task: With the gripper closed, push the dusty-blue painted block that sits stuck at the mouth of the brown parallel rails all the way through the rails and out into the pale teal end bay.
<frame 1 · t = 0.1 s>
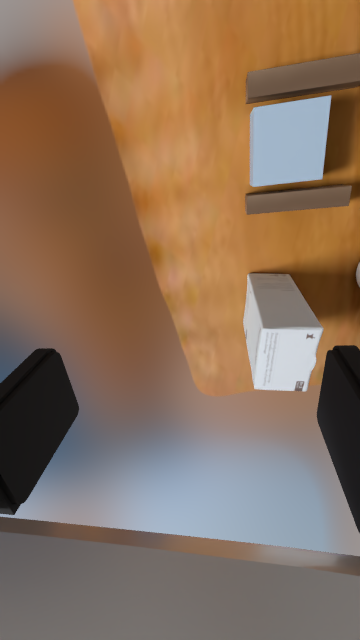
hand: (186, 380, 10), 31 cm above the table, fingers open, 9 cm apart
brown parallel rails: (295, 145, 32), on the table
block: (281, 147, 32), on the table
skincare box: (265, 299, 41), on the table
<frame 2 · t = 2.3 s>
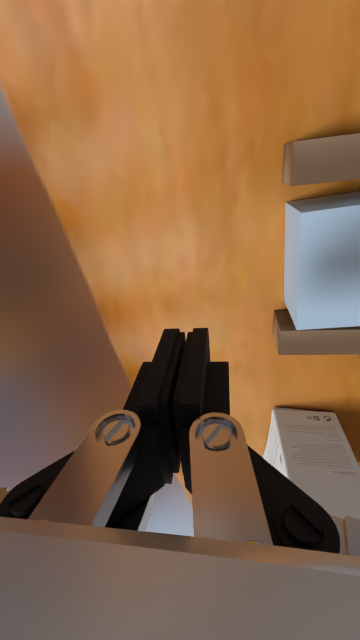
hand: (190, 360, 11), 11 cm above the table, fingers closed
block: (338, 248, 19), on the table
skincare box: (296, 435, 28), on the table
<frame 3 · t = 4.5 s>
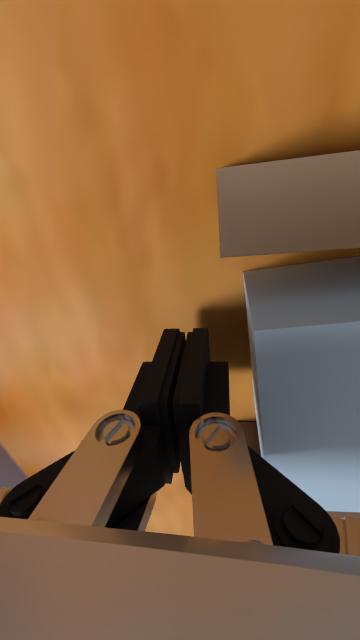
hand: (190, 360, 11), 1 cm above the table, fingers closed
block: (339, 342, 11), on the table, touching gripper
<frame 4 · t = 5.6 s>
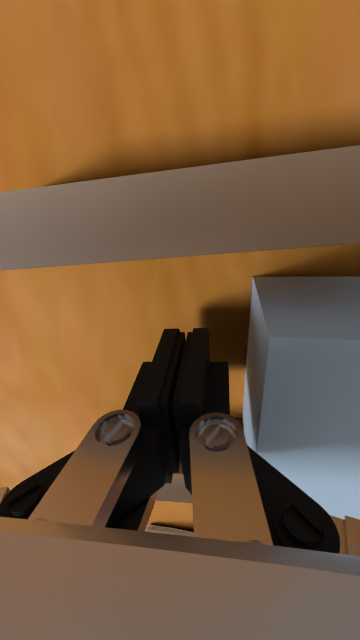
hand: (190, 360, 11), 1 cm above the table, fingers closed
brown parallel rails: (206, 341, 12), on the table
block: (333, 356, 12), on the table, touching gripper
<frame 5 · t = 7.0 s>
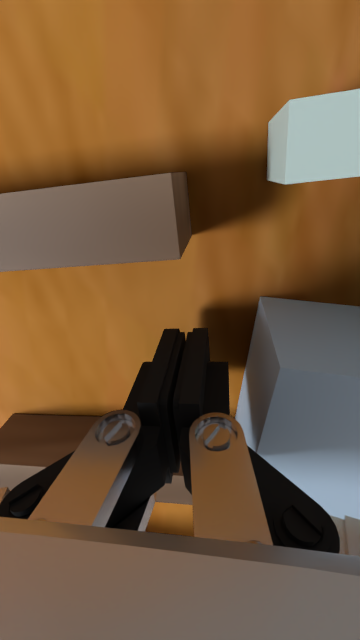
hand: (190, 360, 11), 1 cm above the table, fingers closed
brown parallel rails: (81, 345, 13), on the table
block: (327, 378, 12), on the table, touching end bay, gripper
end bay: (341, 341, 11), on the table
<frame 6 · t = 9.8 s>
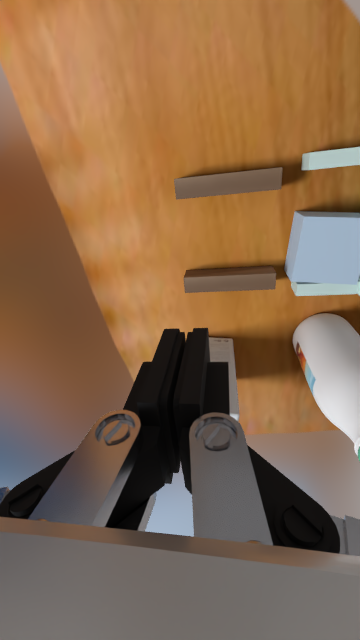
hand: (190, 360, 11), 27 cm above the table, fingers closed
brown parallel rails: (227, 232, 35), on the table
block: (319, 242, 34), on the table
milk bottle: (320, 335, 39), on the table
end bay: (323, 225, 33), on the table
skincare box: (213, 358, 44), on the table
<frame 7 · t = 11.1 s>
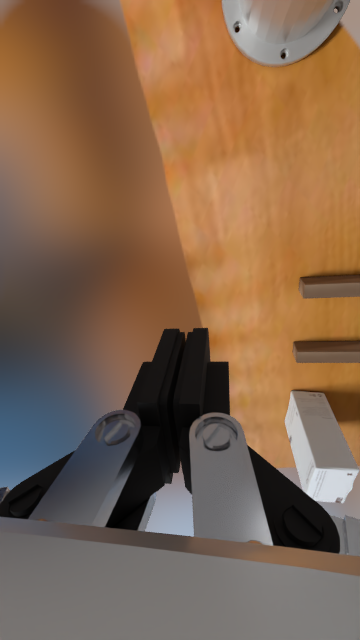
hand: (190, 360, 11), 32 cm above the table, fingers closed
brown parallel rails: (333, 316, 43), on the table
skincare box: (303, 407, 52), on the table
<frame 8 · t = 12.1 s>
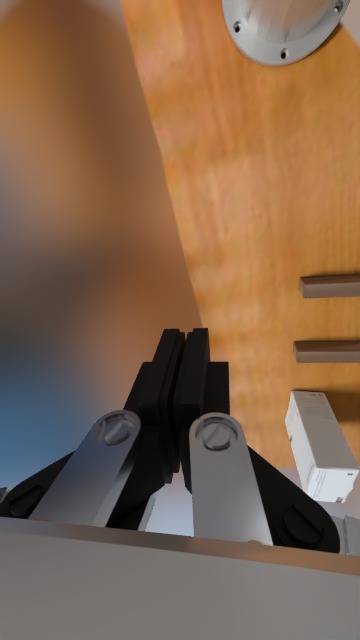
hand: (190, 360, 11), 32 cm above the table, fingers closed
brown parallel rails: (334, 316, 43), on the table
skincare box: (304, 406, 52), on the table
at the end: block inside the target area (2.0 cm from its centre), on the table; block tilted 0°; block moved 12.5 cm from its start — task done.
